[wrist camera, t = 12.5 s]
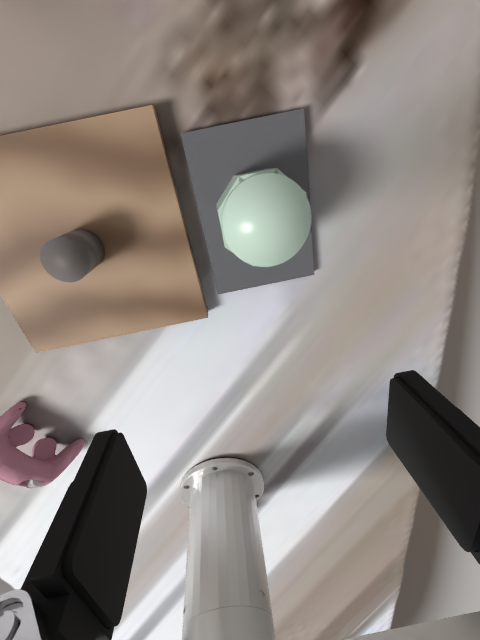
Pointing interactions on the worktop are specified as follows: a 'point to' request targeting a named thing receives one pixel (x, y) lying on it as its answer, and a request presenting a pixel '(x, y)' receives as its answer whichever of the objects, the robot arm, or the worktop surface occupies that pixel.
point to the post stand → (94, 231)
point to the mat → (238, 158)
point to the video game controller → (43, 465)
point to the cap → (264, 217)
